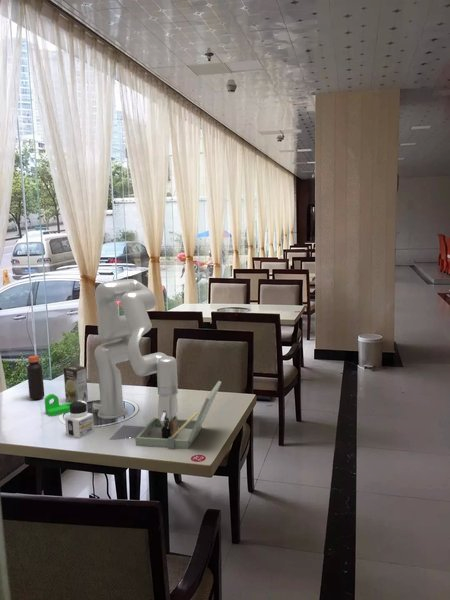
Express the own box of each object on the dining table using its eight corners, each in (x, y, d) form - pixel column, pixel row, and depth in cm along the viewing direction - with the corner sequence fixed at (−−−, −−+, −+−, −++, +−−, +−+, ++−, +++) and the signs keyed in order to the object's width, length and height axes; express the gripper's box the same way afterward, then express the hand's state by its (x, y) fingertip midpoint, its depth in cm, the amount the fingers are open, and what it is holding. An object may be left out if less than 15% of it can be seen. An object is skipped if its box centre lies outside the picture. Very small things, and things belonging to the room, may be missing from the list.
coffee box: (65, 400, 247) (62, 367, 245) (75, 396, 253) (73, 364, 250) (78, 404, 242) (76, 370, 240) (89, 399, 248) (86, 366, 245)
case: (134, 448, 193) (131, 395, 190) (154, 426, 214) (151, 378, 211) (210, 453, 187) (208, 399, 184) (223, 429, 208) (221, 380, 205)
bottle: (41, 399, 251) (38, 358, 248) (27, 399, 251) (23, 358, 248) (46, 394, 257) (43, 354, 254) (32, 394, 257) (29, 355, 254)
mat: (108, 440, 201) (108, 439, 201) (123, 426, 214) (123, 425, 214) (136, 442, 198) (136, 441, 198) (148, 427, 212) (148, 426, 212)
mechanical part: (50, 416, 228) (49, 398, 227) (45, 412, 233) (44, 395, 232) (77, 409, 236) (75, 392, 234) (71, 406, 240) (70, 389, 239)
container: (79, 439, 203) (77, 407, 201) (66, 435, 207) (63, 403, 205) (94, 432, 209) (92, 400, 207) (80, 428, 213) (78, 397, 211)
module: (161, 439, 200) (160, 420, 199) (166, 434, 205) (165, 416, 204) (174, 440, 199) (173, 421, 198) (178, 435, 204) (177, 416, 203)
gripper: (165, 381, 208) (167, 424, 211) (150, 396, 191) (152, 442, 194) (183, 382, 207) (185, 425, 209) (170, 397, 190) (172, 443, 192)
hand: (169, 433), depth 202 cm, fingers open, 7 cm apart
